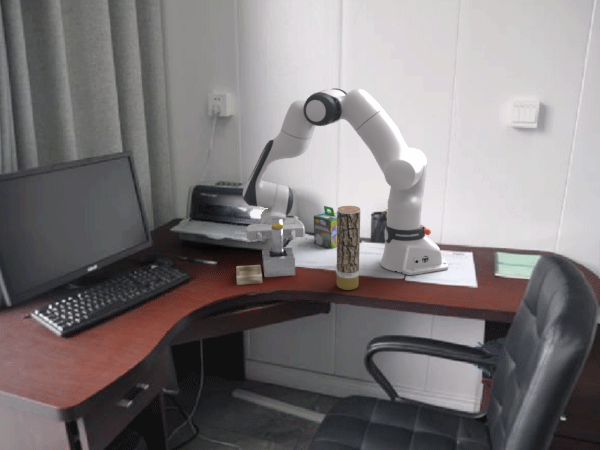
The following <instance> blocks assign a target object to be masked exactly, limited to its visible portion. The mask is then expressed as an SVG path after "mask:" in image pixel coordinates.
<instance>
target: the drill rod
mask: <svg viewBox="0 0 600 450" xmlns="http://www.w3.org/2000/svg"><path fill="white" fill-rule="evenodd" d="M271 228H272V239H271V240H272V241H271V243H272V244H271V245H272V247H271V249H273V257H282V256H284V254H283V248H284V238H283V219H282V218H272V222H271Z"/></svg>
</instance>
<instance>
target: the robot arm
mask: <svg viewBox="0 0 600 450" xmlns="http://www.w3.org/2000/svg"><path fill="white" fill-rule="evenodd" d="M340 120H345V121H346V122H348V123H349V124H350V126H351V127H352V128H353V130H354V131H355V132H356V134H357V135H358V137H360V139H361V140H362V141H363V143H364V144H365V145H366V146H367V148H368V149H369V150H370V152H371V154H372V156H373V157H374V159H375V161H376V164H378V166H379V169H380V170H381V172H382V173H383V175H384V176H383V177H384V180H385V181H386V183H387V184H388V186H389V187H390V189H389V195H388V200H387V209H386V210H387V213H386V214H387V215H386V223H385V226H384V227H385V229H384V249H383V252H382V256H381V259H380V262H379V263H380V264H379V265H380V266H381V267H382V268H384V269H386V270H389V271H392V272H395V271H397V272H396V273H401V272H402V273H401V274H403V275H406V276H407V275H408V276H414V275H420V274H426V273H434V272H439V271H446V270H448V268H449V264H448V262H447V260H446V259H445V258H444V257H443V256H442V252H441V249H440V247H439V246H438V244H436V242H434V241H433V240H432V239H430V238H429V237H428V236H430V234H431V233H432V230H431V229H430V228H428V227H426V226H424V225H422V224H421V223H422V222H421V220H422V210H423V209H422V208H423V197H424V191H425V184H426V177H427V166H428V161H427V160H428V159H427V157H426V155H425V154H424V153H423V151H422V150H420V149H417V148H414V147H409V146H408V145H407V143H406V141H405V140H404V138H403V136H402V134H401V133H400V129H399V128H398V126H397V125H396V123H395V122H394V121H393V120H392V118H391V117H390V116H389V115H388V114H387V112H386V111H385V109H384V108H383V107H382V106H381V105H380V104H379V102H378V101H377V100H376V99H375V98H373V96H372V95H371V94H369V93H368V92H367V91H366V90H364V89H363V88H355V89H352V90H350V91H349V92H347V91H346V90H344V89H341V88H335V87H334V88H330V89H328V88H327V89H322V90H320V91H318V92H314V93H312V94H311V95H310V96H308V98H306V100H303V99H301V100H300V99H298V100H295V101H293V102H292V103H291V104H290V106H289V107H288V109H287V112H286V114H285V116H284V119H283V122H282V125H281V128H280V131H279V133H278V134H277V136H276V137H274V138H273V139H269V140H268V141H267V143H266V144H265V146H264V148H263V149H262V152H261V154H260V156H259V158H258V160H257V161H256V164H255V167H254V168H253V170H252V172H251V175H250V176H249V178H248V180H247V182H246V183H245V185H244V187H243V189H242V199H243V201H244V202H245V204H247V205H248V206H251V207H259V208H262V209H263V208H268V209H265V210H264V211H263V212H262V211H261V212H262V214H261V213H260V217H261V218H260V223H252V224H249V225H248V226H247V227H245V228H244V230H245V232H246V239H247V240H248V241H258V240H259V241H260V242H263V243H264V242H266V240H272V228H271V222H272V218H282V219H283V239H288V240H289V241H291V240H295V239H294V238H303V237H305V235H306V230H305V225H304V223H303V222H302V221H301V220H299V217H298V216H297V215H290V213H291V212H292V209H293V205H294V193H293V191H292V189H291V187H290V186H289V185H288V186H287V185H285V184H279V183H274V182H270V181H266V180H263V179H264V177H265V175H266V172H267V171H268V169H269V166H270V164H271V163H273V162H276V161H278V160H284V159H293V158H298V157H300V156H301V155H303V154H304V153H305V152H307V151H308V148H309V146H310V144H311V141H312V139H313V135H314V131H315V129H316V126H317V127H325V126H328V125H331V124H335V123H337V122H338V121H340Z"/></svg>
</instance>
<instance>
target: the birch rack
mask: <svg viewBox="0 0 600 450" xmlns="http://www.w3.org/2000/svg"><path fill="white" fill-rule="evenodd" d="M235 269H236V270H235V271H236V272H235V273H236V285H237V286H240V285H242V286H244V285H257V284H263V273H262V266H261V264H253V265H252V264H250V265H237V266H236V267H235Z"/></svg>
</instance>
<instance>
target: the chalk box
mask: <svg viewBox="0 0 600 450" xmlns="http://www.w3.org/2000/svg"><path fill="white" fill-rule="evenodd" d="M323 210H324V212H320V213H316V214H314V215H313V232H314V233H313V234H314V235H313V241H314V244H316V245H318V246H320V247H321V246H322V247H324V248H326V249H327V248H328V249H333V248H337V211H334V207H330V206H327V205H324V206H323Z"/></svg>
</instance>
